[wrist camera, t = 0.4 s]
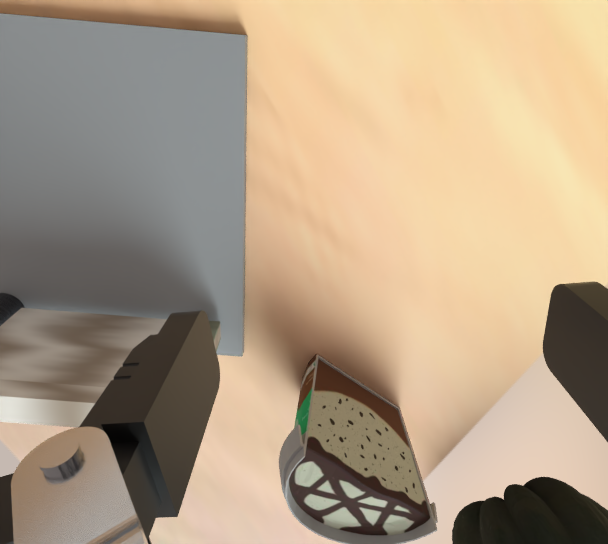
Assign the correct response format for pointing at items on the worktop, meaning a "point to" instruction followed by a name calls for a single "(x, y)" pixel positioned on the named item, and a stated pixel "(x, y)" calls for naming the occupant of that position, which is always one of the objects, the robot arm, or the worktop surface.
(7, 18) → the plaque display stand
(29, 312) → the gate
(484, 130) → the worktop surface
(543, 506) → the squash
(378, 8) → the worktop surface
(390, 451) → the food container
